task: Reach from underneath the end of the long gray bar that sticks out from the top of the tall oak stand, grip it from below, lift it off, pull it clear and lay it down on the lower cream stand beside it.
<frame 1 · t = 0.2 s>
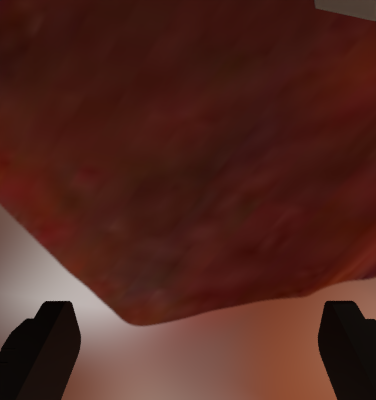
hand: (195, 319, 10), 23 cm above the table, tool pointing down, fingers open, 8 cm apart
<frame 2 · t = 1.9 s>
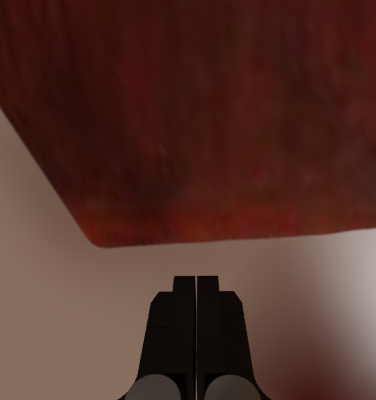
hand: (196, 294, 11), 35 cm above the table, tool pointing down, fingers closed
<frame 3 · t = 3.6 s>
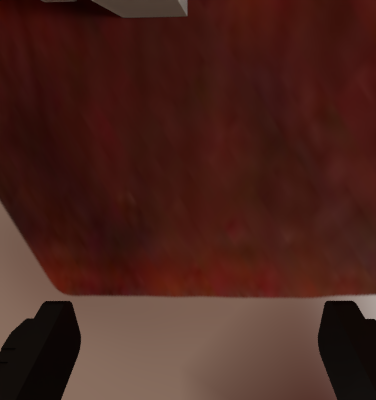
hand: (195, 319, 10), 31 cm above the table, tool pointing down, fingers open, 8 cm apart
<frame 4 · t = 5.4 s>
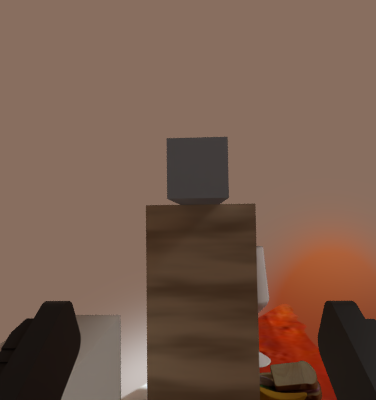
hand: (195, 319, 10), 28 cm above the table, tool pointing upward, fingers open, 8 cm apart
toy sandwich meal: (279, 398, 54), on the table
champagne flute: (254, 360, 67), on the table
gray bar: (200, 205, 33), point 32 cm above the table, touching oak stand
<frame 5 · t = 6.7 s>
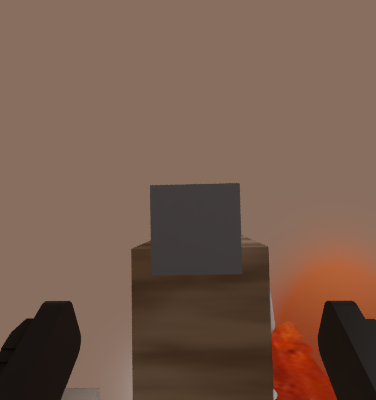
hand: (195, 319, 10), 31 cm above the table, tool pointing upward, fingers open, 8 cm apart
gray bar: (199, 243, 27), point 32 cm above the table, touching oak stand
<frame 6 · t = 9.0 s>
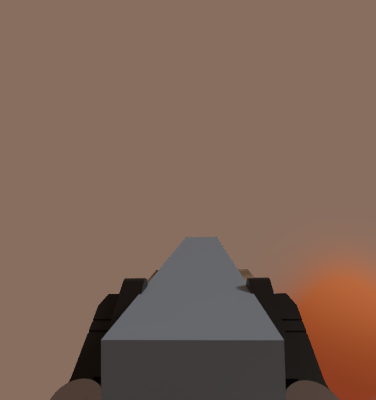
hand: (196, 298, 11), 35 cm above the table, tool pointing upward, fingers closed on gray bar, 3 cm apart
gray bar: (200, 305, 21), point 32 cm above the table, touching gripper, oak stand
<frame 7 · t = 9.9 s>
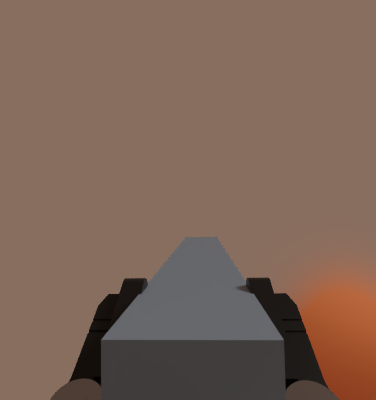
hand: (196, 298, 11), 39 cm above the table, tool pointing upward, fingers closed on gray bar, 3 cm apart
gray bar: (200, 305, 21), point 36 cm above the table, touching gripper
when the fingers open (26 cm above the table, at t = 14.8 s): gray bar drops 1 cm, resting on cream stand.
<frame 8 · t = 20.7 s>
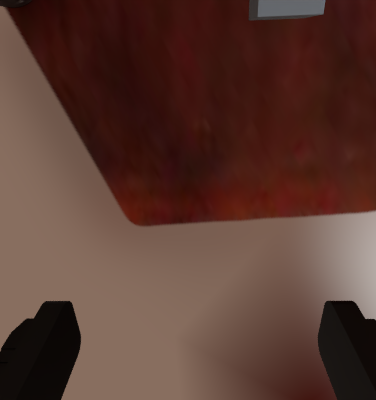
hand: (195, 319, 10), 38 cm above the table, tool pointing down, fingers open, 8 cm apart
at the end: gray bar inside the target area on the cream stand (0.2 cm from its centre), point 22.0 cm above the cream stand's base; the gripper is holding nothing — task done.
